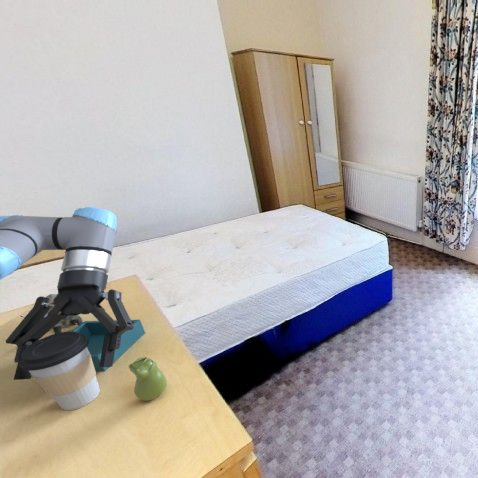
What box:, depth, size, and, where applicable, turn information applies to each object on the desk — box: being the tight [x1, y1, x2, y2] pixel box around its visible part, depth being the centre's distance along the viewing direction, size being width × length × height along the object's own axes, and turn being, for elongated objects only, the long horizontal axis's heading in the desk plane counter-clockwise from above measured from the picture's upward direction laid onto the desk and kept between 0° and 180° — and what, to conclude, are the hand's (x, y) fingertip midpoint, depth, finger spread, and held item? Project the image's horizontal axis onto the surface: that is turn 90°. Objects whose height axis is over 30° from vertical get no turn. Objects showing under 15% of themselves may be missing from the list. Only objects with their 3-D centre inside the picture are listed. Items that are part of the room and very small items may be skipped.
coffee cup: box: [19, 330, 101, 411], centre depth 66 cm, size 9×9×15 cm
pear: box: [128, 356, 168, 402], centre depth 68 cm, size 6×5×10 cm
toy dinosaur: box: [20, 293, 84, 334], centre depth 87 cm, size 22×8×11 cm, turn 42°
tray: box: [71, 319, 146, 373], centre depth 80 cm, size 14×14×5 cm
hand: (65, 373), depth 65 cm, fingers open, 13 cm apart
